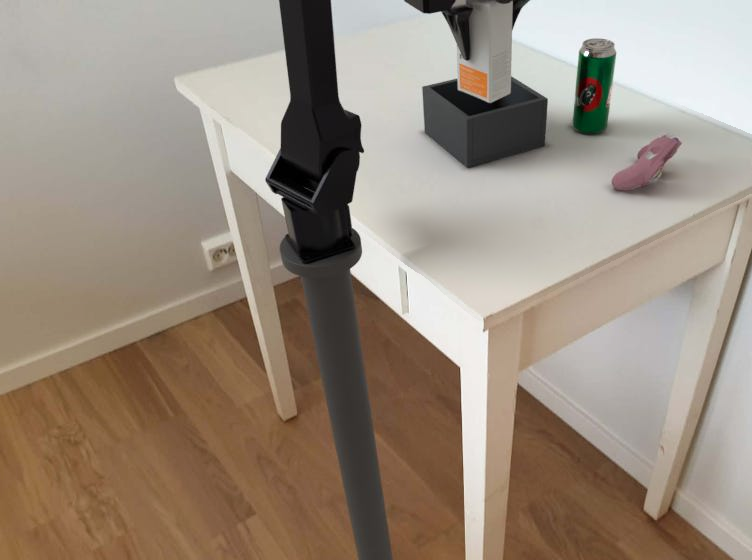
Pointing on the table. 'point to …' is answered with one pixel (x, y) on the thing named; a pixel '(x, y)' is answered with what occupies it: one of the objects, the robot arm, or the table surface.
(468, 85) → the cosmetic box
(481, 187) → the table surface
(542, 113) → the dark grey open bin
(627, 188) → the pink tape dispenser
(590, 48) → the soda can
